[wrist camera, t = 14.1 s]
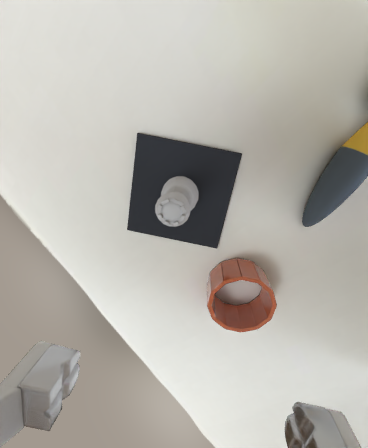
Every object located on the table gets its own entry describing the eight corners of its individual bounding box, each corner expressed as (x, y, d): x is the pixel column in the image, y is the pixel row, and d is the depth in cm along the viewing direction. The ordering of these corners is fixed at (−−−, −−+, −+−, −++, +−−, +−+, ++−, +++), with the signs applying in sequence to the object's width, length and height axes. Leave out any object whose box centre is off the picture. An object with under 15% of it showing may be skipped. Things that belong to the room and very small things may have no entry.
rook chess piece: (158, 179, 27) (140, 192, 19) (195, 172, 26) (191, 183, 19) (166, 214, 28) (152, 239, 21) (201, 208, 28) (200, 232, 20)
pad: (241, 153, 26) (242, 153, 25) (216, 246, 30) (217, 248, 29) (138, 133, 26) (137, 132, 25) (128, 228, 30) (127, 230, 29)
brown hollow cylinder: (273, 265, 30) (285, 285, 26) (256, 312, 33) (264, 337, 28) (215, 253, 30) (216, 270, 26) (202, 301, 33) (202, 324, 29)
